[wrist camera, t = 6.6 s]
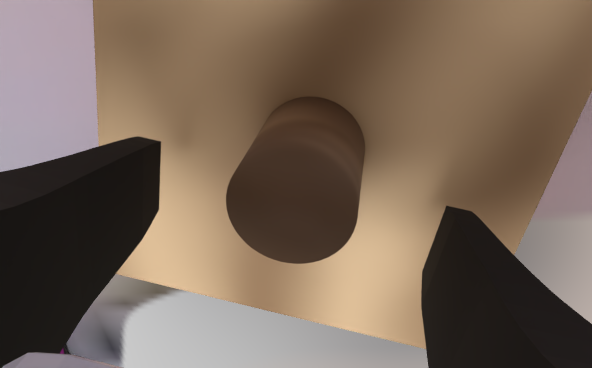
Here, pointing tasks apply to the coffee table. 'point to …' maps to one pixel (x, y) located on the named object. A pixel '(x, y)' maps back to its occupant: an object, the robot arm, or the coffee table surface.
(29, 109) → the coffee table surface
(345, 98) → the oak lid
